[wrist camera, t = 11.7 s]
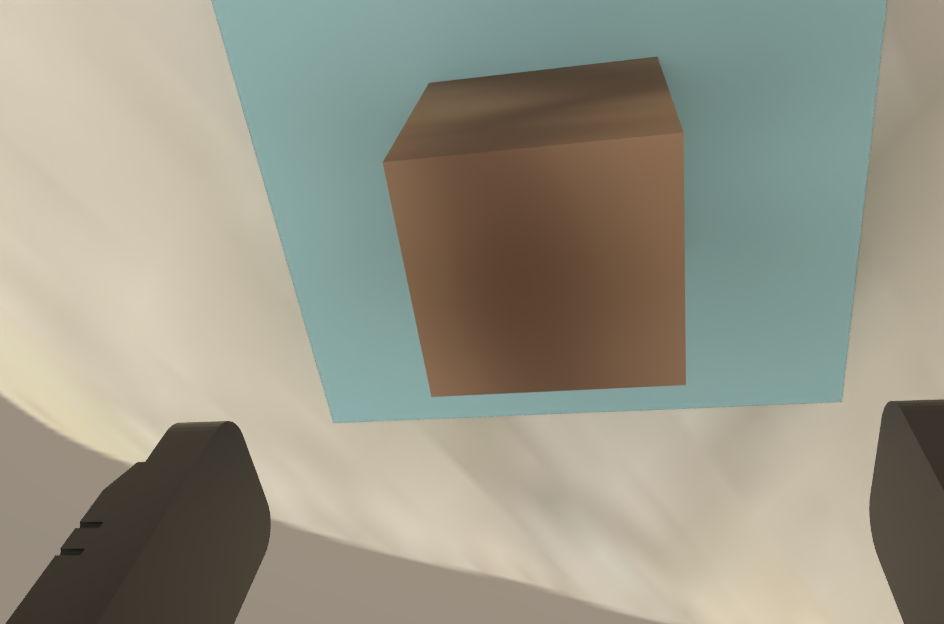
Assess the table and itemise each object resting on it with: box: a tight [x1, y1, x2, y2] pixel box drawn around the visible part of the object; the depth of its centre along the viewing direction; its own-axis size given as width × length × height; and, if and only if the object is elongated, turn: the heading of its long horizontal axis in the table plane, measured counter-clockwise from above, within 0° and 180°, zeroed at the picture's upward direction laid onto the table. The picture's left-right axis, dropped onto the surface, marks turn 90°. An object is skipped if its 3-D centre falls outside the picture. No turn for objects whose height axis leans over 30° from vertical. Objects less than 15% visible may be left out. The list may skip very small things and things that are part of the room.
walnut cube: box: [383, 57, 686, 397], centre depth 17 cm, size 5×5×5 cm
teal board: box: [211, 0, 887, 423], centre depth 19 cm, size 14×14×2 cm
